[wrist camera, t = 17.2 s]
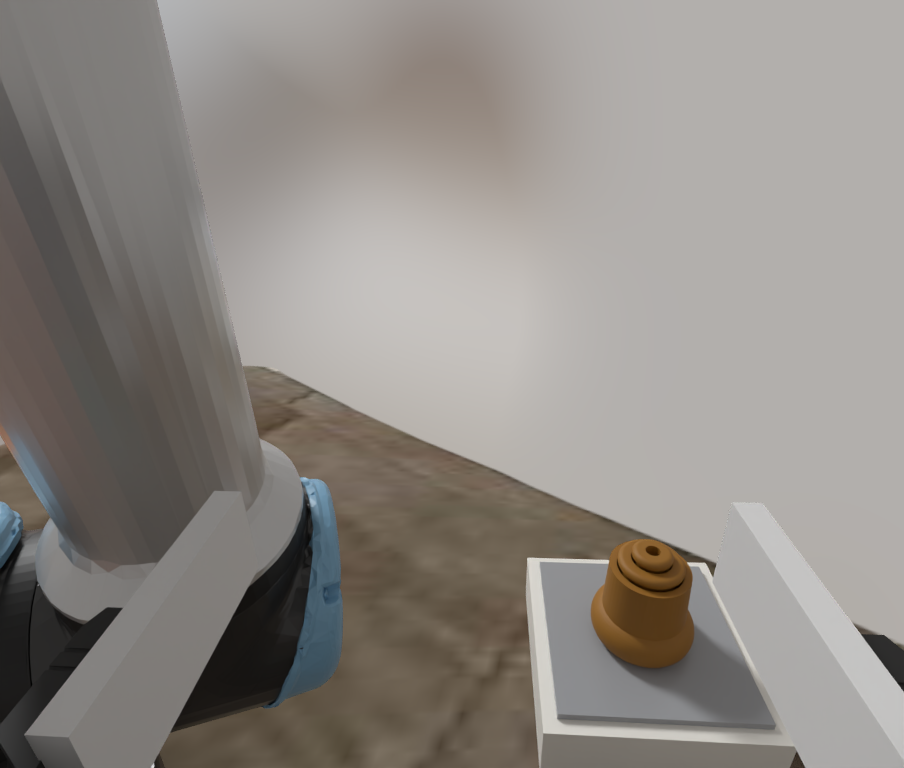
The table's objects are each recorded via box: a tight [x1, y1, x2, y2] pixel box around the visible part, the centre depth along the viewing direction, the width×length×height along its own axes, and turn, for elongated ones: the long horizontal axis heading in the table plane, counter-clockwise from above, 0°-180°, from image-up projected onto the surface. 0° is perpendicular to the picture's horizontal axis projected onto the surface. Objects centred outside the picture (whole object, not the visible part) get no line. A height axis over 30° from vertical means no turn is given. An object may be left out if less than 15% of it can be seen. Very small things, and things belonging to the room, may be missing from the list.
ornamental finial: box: [591, 539, 694, 668], centre depth 39 cm, size 8×8×8 cm
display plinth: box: [526, 558, 797, 768], centre depth 42 cm, size 16×16×5 cm
